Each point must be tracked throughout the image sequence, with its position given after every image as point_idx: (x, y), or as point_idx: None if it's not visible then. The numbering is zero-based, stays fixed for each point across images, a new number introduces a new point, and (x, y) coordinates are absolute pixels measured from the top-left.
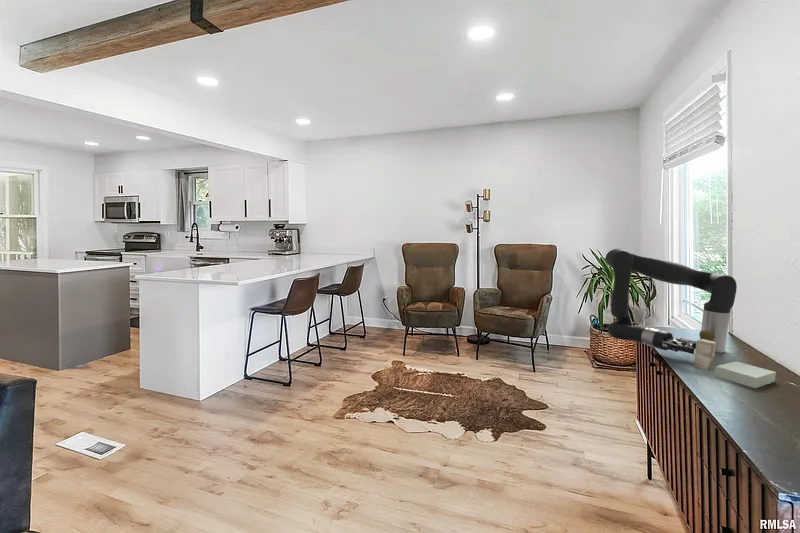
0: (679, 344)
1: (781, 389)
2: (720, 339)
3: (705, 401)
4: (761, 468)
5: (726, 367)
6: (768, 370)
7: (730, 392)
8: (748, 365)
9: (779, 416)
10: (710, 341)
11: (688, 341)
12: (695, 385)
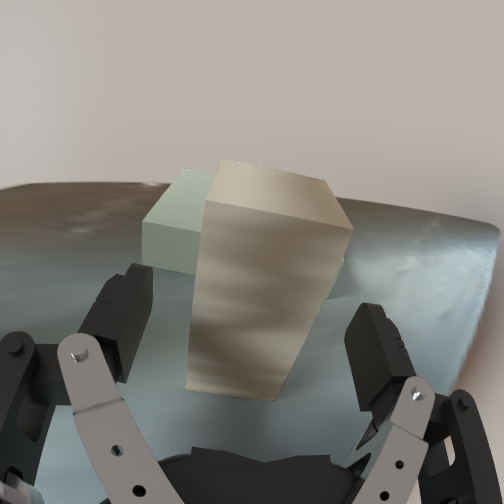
0: (420, 413)
1: None
2: None
3: (487, 274)
4: (499, 233)
5: None
6: (184, 175)
7: (409, 255)
8: (175, 198)
9: (406, 213)
10: (241, 173)
11: (125, 408)
12: (466, 305)
